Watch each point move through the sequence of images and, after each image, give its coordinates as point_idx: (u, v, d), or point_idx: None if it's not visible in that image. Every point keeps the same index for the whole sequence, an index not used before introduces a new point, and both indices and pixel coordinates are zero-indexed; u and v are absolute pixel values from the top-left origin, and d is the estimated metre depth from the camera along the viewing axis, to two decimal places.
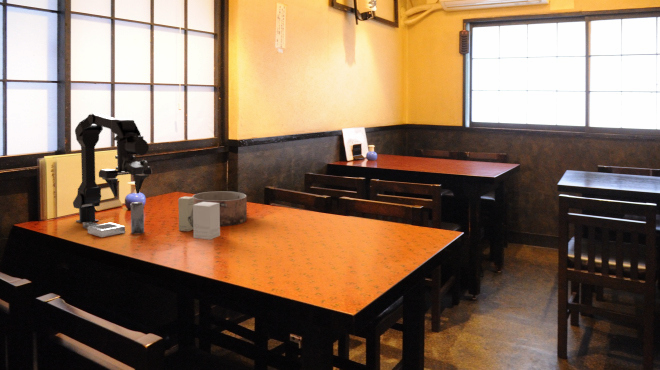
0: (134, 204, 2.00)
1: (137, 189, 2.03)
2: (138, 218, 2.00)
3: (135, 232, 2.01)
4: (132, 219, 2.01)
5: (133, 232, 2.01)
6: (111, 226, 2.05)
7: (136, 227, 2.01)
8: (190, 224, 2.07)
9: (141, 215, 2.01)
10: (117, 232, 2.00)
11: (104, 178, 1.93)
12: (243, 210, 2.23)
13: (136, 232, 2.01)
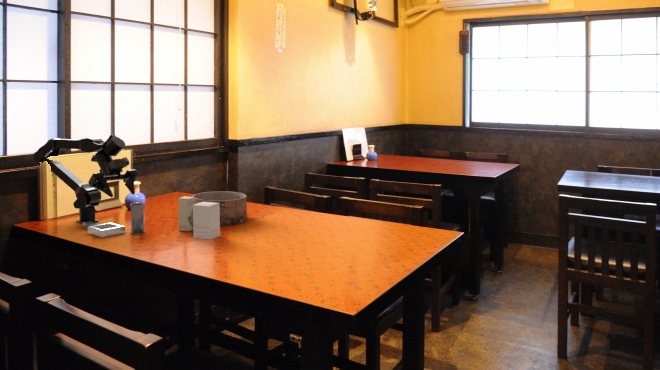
0: (134, 204, 2.00)
1: (132, 190, 2.10)
2: (138, 218, 2.00)
3: (135, 232, 2.01)
4: (132, 219, 2.01)
5: (133, 232, 2.01)
6: (111, 226, 2.05)
7: (136, 227, 2.01)
8: (190, 224, 2.07)
9: (141, 215, 2.01)
10: (117, 232, 2.00)
11: (95, 185, 2.02)
12: (243, 210, 2.23)
13: (136, 232, 2.01)
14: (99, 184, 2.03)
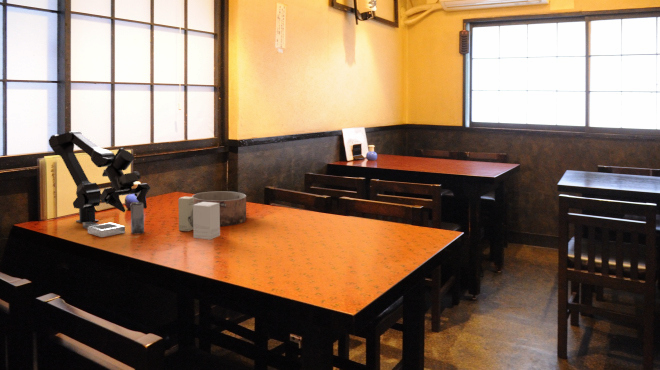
0: (134, 204, 2.00)
1: (143, 204, 2.07)
2: (138, 218, 2.00)
3: (135, 232, 2.01)
4: (132, 219, 2.01)
5: (133, 232, 2.01)
6: (111, 226, 2.05)
7: (136, 227, 2.01)
8: (190, 224, 2.07)
9: (141, 215, 2.01)
10: (117, 232, 2.00)
11: (106, 200, 1.99)
12: (243, 210, 2.23)
13: (136, 232, 2.01)
14: (111, 199, 1.99)
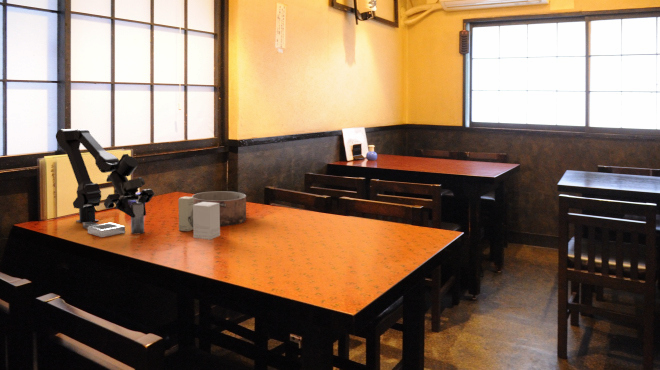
0: (134, 204, 2.00)
1: None
2: (138, 218, 2.00)
3: (135, 232, 2.01)
4: (132, 219, 2.01)
5: (133, 232, 2.01)
6: (111, 226, 2.05)
7: (136, 227, 2.01)
8: (190, 224, 2.07)
9: (141, 215, 2.01)
10: (117, 232, 2.00)
11: (116, 205, 1.99)
12: (242, 210, 2.23)
13: (136, 232, 2.01)
14: (120, 204, 2.00)
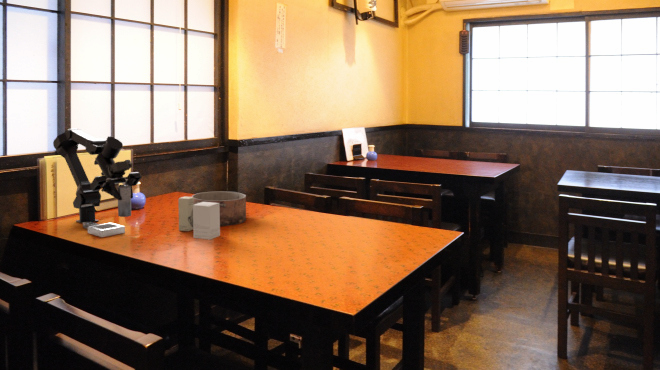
0: (121, 187, 1.98)
1: None
2: (125, 200, 1.99)
3: (122, 215, 2.00)
4: (119, 202, 1.99)
5: (120, 215, 2.00)
6: (111, 226, 2.05)
7: (123, 210, 1.99)
8: (190, 224, 2.07)
9: (128, 198, 2.00)
10: (117, 232, 2.00)
11: None
12: (242, 210, 2.23)
13: (123, 215, 2.00)
14: (107, 187, 1.98)
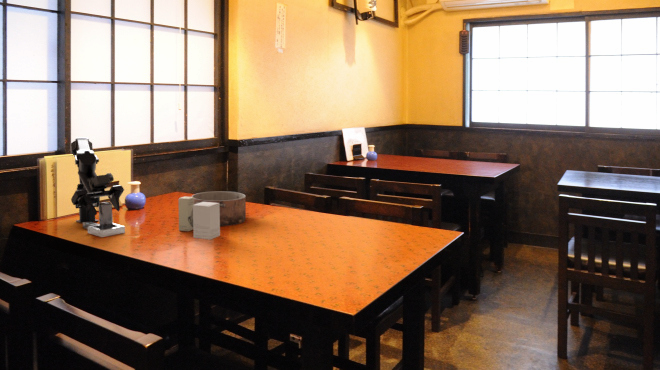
0: (102, 204, 1.98)
1: (116, 207, 2.03)
2: (106, 218, 1.99)
3: None
4: (100, 219, 1.99)
5: None
6: None
7: (104, 227, 1.99)
8: (190, 224, 2.07)
9: (109, 215, 1.99)
10: (117, 232, 2.00)
11: (78, 202, 1.96)
12: (242, 210, 2.23)
13: None
14: (82, 201, 1.96)
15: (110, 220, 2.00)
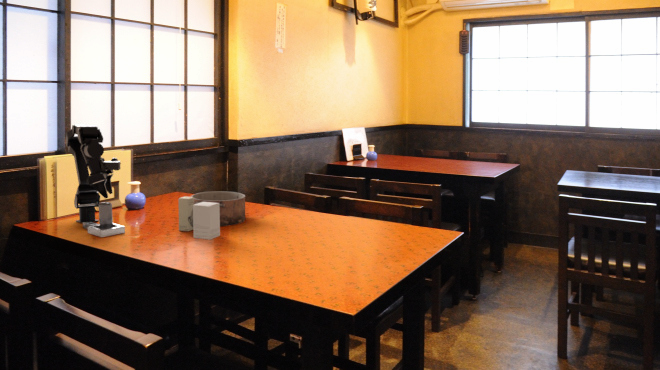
0: (102, 204, 1.98)
1: (110, 189, 2.13)
2: (106, 218, 1.99)
3: None
4: (100, 219, 1.99)
5: None
6: None
7: (104, 227, 1.99)
8: (190, 224, 2.07)
9: (109, 215, 1.99)
10: (117, 232, 2.00)
11: (94, 183, 1.99)
12: (241, 210, 2.23)
13: None
14: (97, 183, 2.01)
15: (110, 220, 2.00)
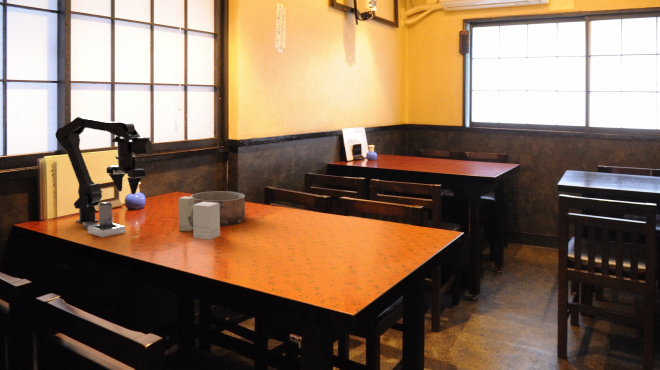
0: (102, 204, 1.98)
1: (120, 187, 2.16)
2: (106, 218, 1.99)
3: None
4: (100, 219, 1.99)
5: None
6: None
7: (104, 227, 1.99)
8: (190, 224, 2.07)
9: (109, 215, 1.99)
10: (117, 232, 2.00)
11: (136, 178, 2.07)
12: (241, 210, 2.23)
13: None
14: (135, 178, 2.08)
15: (110, 220, 2.00)
